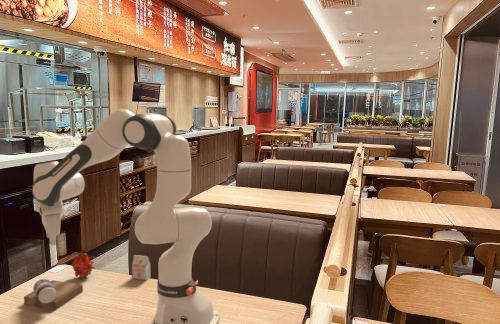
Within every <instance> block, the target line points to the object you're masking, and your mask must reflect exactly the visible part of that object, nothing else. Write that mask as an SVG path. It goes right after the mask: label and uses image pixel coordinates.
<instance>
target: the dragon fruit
mask: <svg viewBox="0 0 500 324" xmlns="http://www.w3.org/2000/svg"><path fill="white" fill-rule="evenodd" d="M92 258H93V259H95V256H94V255H88V253H87V252H86V250H84V249H83V250H81V251H80V252H79V253H78V255H77V256H74V258H73V261H71V262H72V263H71V266H72V269H73V271H74V275H75V277H79V278H81V279H82V278H85V277H88V276H89V275H91V273H92V271H93V270H94V269H95V266H94V263H95V262H94V261H93V260H91V259H92Z"/></svg>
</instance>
